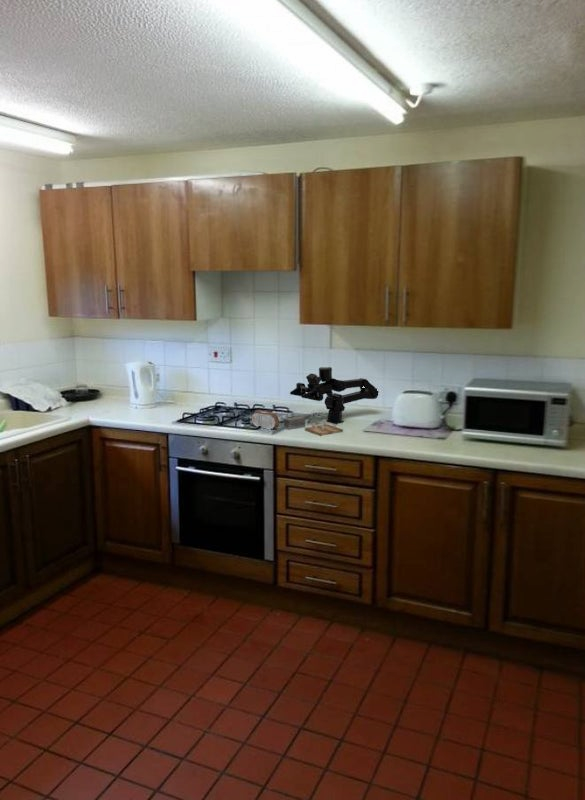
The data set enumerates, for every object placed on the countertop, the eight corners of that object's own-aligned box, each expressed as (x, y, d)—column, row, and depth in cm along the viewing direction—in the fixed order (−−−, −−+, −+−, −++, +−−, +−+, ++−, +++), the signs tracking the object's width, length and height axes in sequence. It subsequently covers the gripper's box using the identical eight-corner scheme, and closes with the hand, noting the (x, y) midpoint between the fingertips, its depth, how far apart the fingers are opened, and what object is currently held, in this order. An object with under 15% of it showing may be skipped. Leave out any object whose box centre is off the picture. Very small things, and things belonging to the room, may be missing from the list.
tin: (279, 429, 311) (279, 412, 310) (276, 431, 309) (276, 414, 307) (253, 425, 319) (253, 409, 317) (250, 426, 316) (250, 410, 314)
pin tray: (327, 426, 319) (327, 419, 318) (342, 431, 309) (343, 424, 309) (304, 430, 311) (304, 422, 310) (320, 435, 301) (320, 428, 301)
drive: (300, 425, 320) (300, 416, 319) (305, 427, 317) (305, 417, 316) (283, 428, 314) (284, 418, 313) (288, 430, 311) (288, 420, 310)
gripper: (308, 370, 325) (283, 375, 317) (332, 375, 311) (306, 381, 302) (309, 391, 328) (285, 397, 320) (333, 398, 314) (307, 404, 305)
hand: (295, 394), depth 311 cm, fingers open, 9 cm apart
